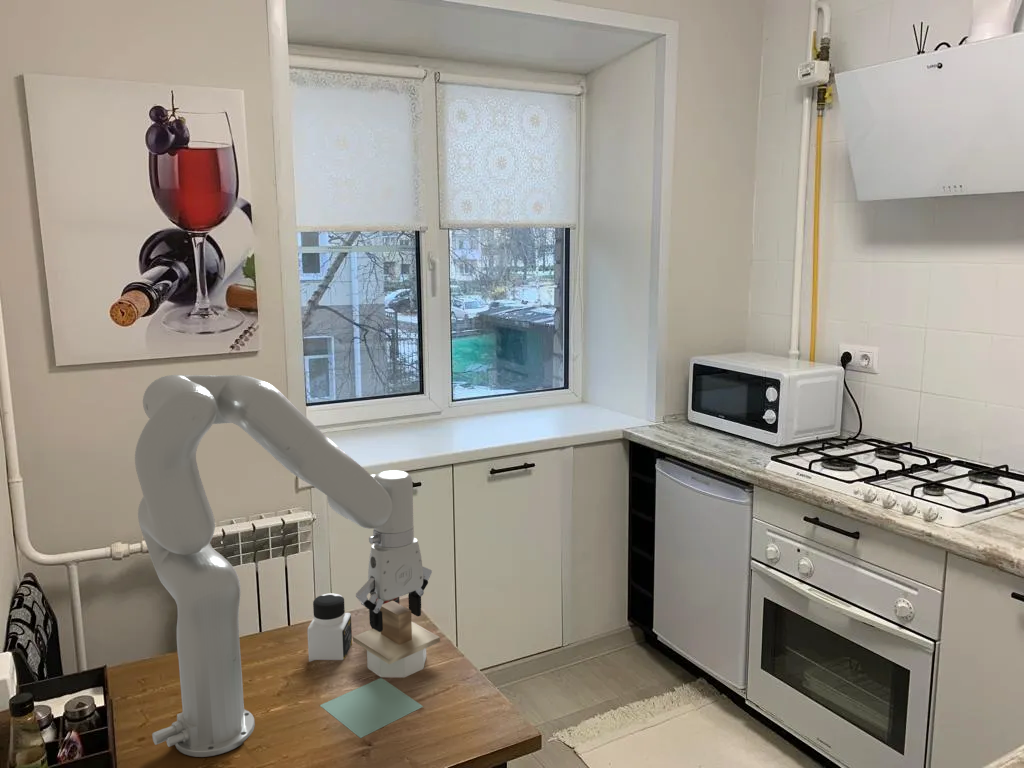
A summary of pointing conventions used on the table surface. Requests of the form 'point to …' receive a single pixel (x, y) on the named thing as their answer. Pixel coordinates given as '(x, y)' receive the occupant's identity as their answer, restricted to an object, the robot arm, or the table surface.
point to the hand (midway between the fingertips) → (396, 621)
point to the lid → (396, 635)
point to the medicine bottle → (329, 629)
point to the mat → (371, 707)
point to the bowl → (397, 665)
